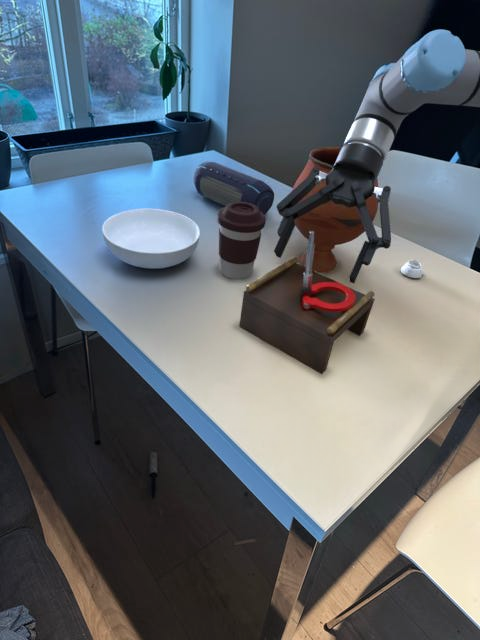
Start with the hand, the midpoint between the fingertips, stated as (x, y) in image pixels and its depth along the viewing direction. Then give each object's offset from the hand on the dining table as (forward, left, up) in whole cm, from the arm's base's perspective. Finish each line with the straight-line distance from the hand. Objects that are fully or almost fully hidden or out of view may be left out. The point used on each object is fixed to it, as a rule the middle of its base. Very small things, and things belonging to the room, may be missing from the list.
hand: (313, 267), depth 74 cm
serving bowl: (+39, 0, -15) cm, 42 cm away
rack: (0, -2, -15) cm, 15 cm away
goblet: (+11, -27, -15) cm, 33 cm away
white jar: (-7, -40, -15) cm, 44 cm away
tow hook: (-3, -3, -6) cm, 7 cm away
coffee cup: (+22, -9, -15) cm, 29 cm away
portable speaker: (+46, -36, -15) cm, 61 cm away
